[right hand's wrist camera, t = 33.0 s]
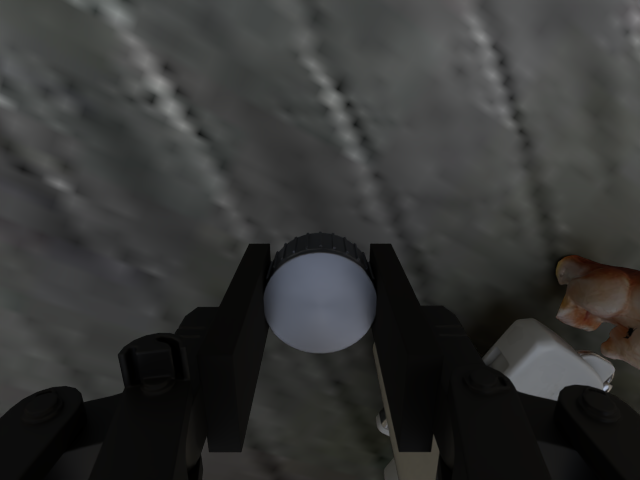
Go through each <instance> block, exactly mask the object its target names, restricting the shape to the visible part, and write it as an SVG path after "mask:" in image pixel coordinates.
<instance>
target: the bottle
mask: <svg viewBox="0 0 640 480" xmlns="http://www.w3.org/2000/svg"><path fill="white" fill-rule="evenodd" d="M373 356H374V361H375V366H376V371H377V376H378V381H379V386H380V391H381V396H382V401H383V406H384V411H385V416H386V421H387V426H388V431H389V436H390V440H391V445H392V450H393V455H394V460H395V465H396V470H397V475H398V480H435V479H436V472H437V465H438V458H439V449H438V446H437V443H436V440H435V437H434V434H433V442H432V449H431V452H399V451H398V446H397V441H396V437H395V432H394V428H393V423H392V419H391V414H390V410H389V405H388V401H387V396H386V391H385V387H384V382H383V378H382V373H381V369H380V364H379V360H378V355H377V351H376V346H375V342H374V345H373Z"/></svg>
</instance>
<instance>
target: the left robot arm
mask: <svg viewBox="0 0 640 480" xmlns="http://www.w3.org/2000/svg"><path fill="white" fill-rule="evenodd" d="M482 360H483V361H484V363H485V364H486V366H489V367H491V368H493V369H496V370H498V371H500V372H501V373H503V374H504V375H505V376H507V377H508V378H509V379H510V380H511V382H512V383H513V385H514V386H515V388H516V390H517V391H519V392H522V393H526V394H529V395H533V396H538V397H542V398H547V399H551V400H556V401H557V399H558V396H559V392H560V391H561V390H562V389H563V388H564V387H565V386H570V385H575V384H576V385H587V386H591V387H595V388H598V389H601V390H604V391H606V392H608V393H609V391H610V390H611V388H612V387H613V386H612V384H611V383H610V382H611V381H612V379H613V377H614V373H615V368H614V366H613V364H612V363H611V362H610V361H609V360H608V359H606V358H604V357H602V356H601V355H599V354H597V353H595V352H592V351H589V350H578V351H575V350H574V349H573V348H572V347H571V346H570V345H569V344H568V343H567V342H566V341H565V340H564V339H562V338H561V337H560V336H559V335H558V334H556V333H555V332H554V331H552V330H551V329H550V328H548V327H547V326H545V325H544V324H542V323H541V322H539V321H538V320H536V319H534V318H527V319H518V320H516V321H515V322H513V324H512V325H511V326H510V327H509V328H508V329H507V330H506V331H505V333H504V334H503V335H502V336H501V337H500V338H499V339H498V341H497V342H496V343H495V344H494V345H493V346H492V347H491V348H490V350H489V351H488V352H487V353H486V354H485V355H484V356H483V357H482ZM376 422H377V427H378V429H379V431H381V432H382V433H383V434H386V435H388V436H389V431H388V426H387V421H386V416H385V411H384V408H383V409H382V410H381V411H380V412H379V414H378V415H377V416H376ZM384 477H385V480H398V475H397V470H396V465H395V460H394V458H393V459H392V460H391V461H390V462H389V464H388V465H387V466H386V467H385V469H384Z"/></svg>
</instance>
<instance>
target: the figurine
mask: <svg viewBox="0 0 640 480" xmlns="http://www.w3.org/2000/svg"><path fill="white" fill-rule="evenodd" d="M556 276H557V279H558V282H559V284H560V285H563V284H567V290H566V294H565V297H564V299H563V301H562V303H561V305H560V308H559V310H558V313H557V315H556V318H557V319H558V320H560V321H561V322H562V323H564V324H567V325H570V326H572V327H575V328H579V329H583V330H586V331H593V330H596V329H597V328H598V327H599V326H600V324H601V323H603V322H608V323H612V324H614V325H615V326H616V327H614V328H613V329H612V331H611V332H610V338H609V339H608V340H607V341H606V342H604V343H602V345H601V353H602V354H603V355H604V356H606V357H609V358H612V359H619V360H623V361H625V362H627V363H629V364H630V365H632V366H634V367H635V368H637V369H639V370H640V271H638V270H634V269H630V268H624V267H615V266H609V265H604V264H599V263H596V262H593V261H591V260H588V259H585V258H583V257H580V256H577V255H572V256H567V257H564V258H563V259H562V260H560V261H559V262H558V265H557V268H556Z"/></svg>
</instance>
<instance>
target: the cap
mask: <svg viewBox="0 0 640 480" xmlns="http://www.w3.org/2000/svg"><path fill="white" fill-rule="evenodd" d="M266 280H267V282H266V285H265V289H264V293H263V296H264V314H265V319H266V321H267V323H268V325H269V327H270V328H271V330H272V331H273V333H274V334H275V335H276V336H277V337H278V338H279V339H280V340H282V341H283V342H284V343H286V344H287V345H289V346H291V347H293V348H295V349H298V350H301V351H304V352H308V353H317V354H321V353H332V352H336V351H340V350H343V349H345V348H347V347H349V346H351V345H353V344H354V343H356V342H357V341H359V340H360V339H361V338H362V337H363V336H364V335H365V334H366V333H367V332H368V330H369V329H370V327H371V326H372V324H373V322H374V319H375V317H376V301H377V292H376V288H375V285H374V281H373V280H375V279H374V275H373V272H372V269H371V265H370V262H367V260H366V257H365V254H364V252H361V251H360V250H359V249H358V248H357V245H356V244H355V243H354V244H353V243H351V242H350V241H348V240H346V237H344V238H342V237H340V236H337V235H334V233H332V234H328V233H322V232H319V233H312V234H309V233H307V234H306V235H303V236H300V237H298V238H297V237H295V239H294V240H292V241H290V242H289V243H288V244H287V243H285V244H284V247H283V248H282V249H281V250H280V251H279V252H278V251H277V252H276V255H275V258H274V260H273V261H271V263H270V266H269V270H268V273H267V276H266Z"/></svg>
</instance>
